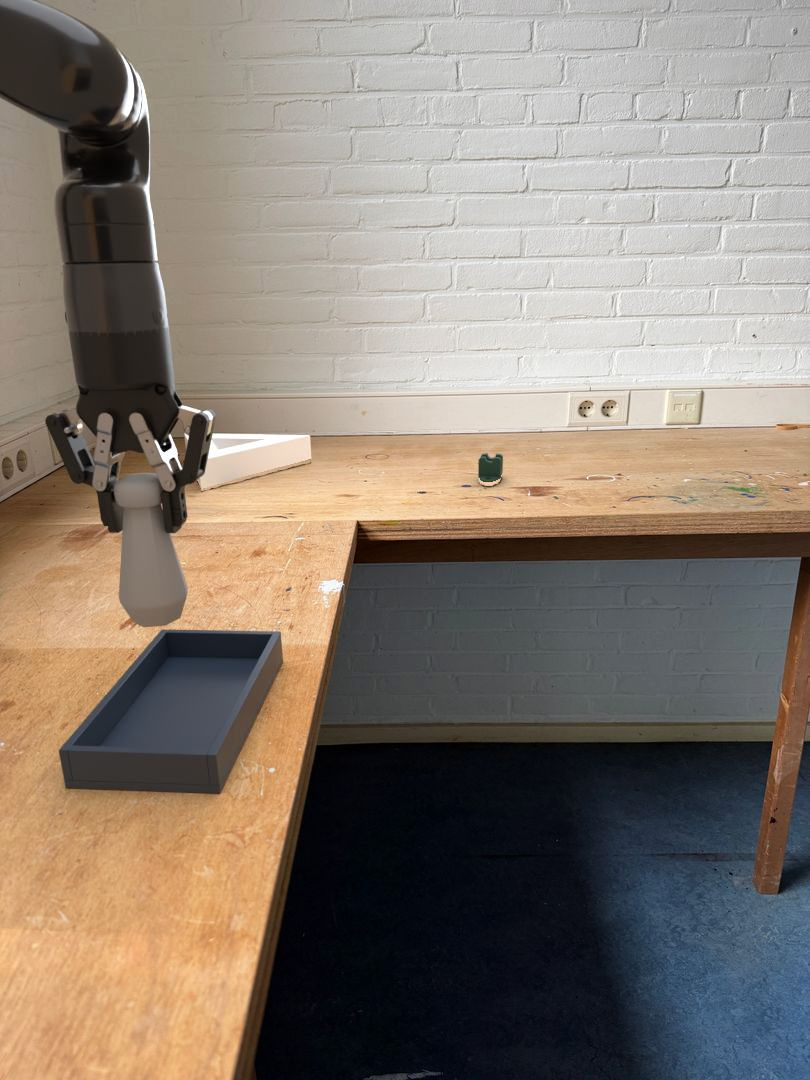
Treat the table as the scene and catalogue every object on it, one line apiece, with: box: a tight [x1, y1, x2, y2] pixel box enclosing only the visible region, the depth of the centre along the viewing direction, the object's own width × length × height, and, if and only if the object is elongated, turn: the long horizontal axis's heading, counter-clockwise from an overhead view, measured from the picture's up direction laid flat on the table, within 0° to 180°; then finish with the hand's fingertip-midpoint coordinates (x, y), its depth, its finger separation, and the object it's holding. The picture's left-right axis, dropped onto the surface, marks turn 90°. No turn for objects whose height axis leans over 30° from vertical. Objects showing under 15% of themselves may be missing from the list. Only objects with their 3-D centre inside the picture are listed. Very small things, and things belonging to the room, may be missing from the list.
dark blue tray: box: [58, 628, 284, 794], centre depth 78 cm, size 14×24×4 cm, turn 175°
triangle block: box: [183, 432, 312, 490], centre depth 169 cm, size 30×26×6 cm
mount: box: [477, 452, 504, 482], centre depth 162 cm, size 11×4×5 cm, turn 167°
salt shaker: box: [114, 472, 189, 628], centre depth 69 cm, size 6×6×13 cm
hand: (145, 529), depth 68 cm, fingers closed on salt shaker, 4 cm apart
